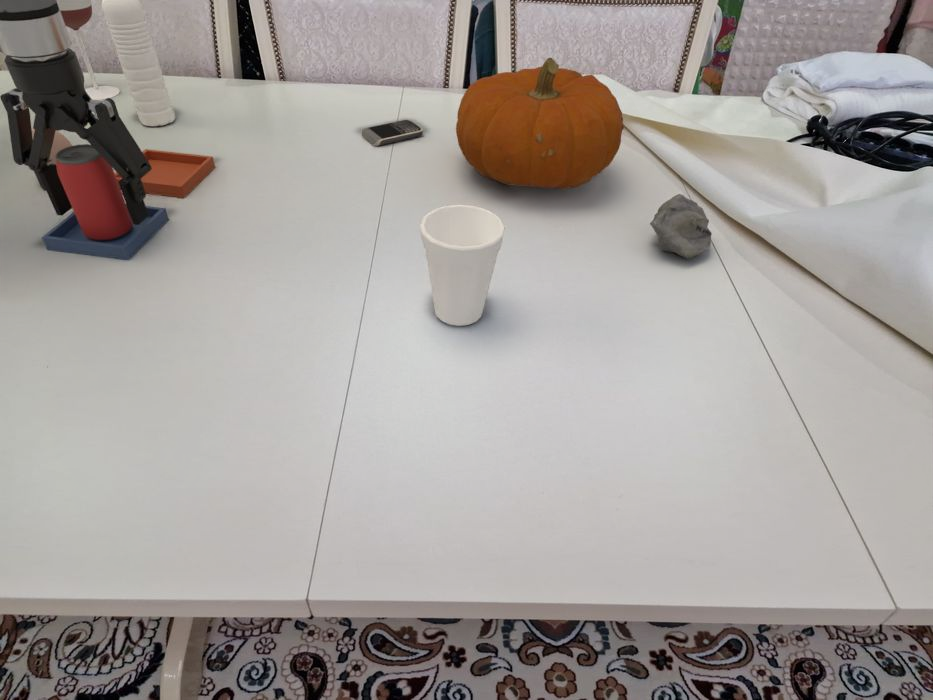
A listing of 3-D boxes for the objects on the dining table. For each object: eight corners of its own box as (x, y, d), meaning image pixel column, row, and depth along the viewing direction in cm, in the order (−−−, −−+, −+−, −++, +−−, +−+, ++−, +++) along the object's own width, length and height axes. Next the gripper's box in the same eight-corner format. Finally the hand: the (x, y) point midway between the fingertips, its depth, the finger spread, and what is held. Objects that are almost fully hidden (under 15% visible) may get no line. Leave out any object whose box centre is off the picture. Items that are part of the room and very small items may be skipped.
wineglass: (89, 83, 133) (47, -34, 118) (130, 88, 132) (94, -30, 118) (63, 98, 127) (16, -25, 112) (107, 102, 126) (65, -20, 111)
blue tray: (47, 249, 86) (41, 237, 85) (94, 210, 95) (89, 199, 93) (129, 260, 86) (124, 247, 84) (169, 219, 94) (165, 208, 92)
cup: (436, 345, 75) (438, 255, 67) (409, 298, 82) (407, 211, 73) (509, 327, 79) (520, 239, 70) (477, 283, 85) (483, 198, 76)
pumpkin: (627, 163, 116) (654, 50, 103) (586, 230, 97) (612, 103, 84) (489, 131, 124) (497, 23, 111) (426, 187, 105) (427, 65, 92)
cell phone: (425, 136, 121) (425, 129, 120) (375, 148, 116) (375, 140, 115) (409, 125, 125) (409, 118, 124) (360, 136, 120) (359, 129, 119)
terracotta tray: (112, 189, 100) (108, 178, 98) (149, 159, 108) (145, 149, 107) (184, 197, 99) (181, 186, 98) (215, 167, 107) (212, 156, 106)
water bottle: (140, 128, 117) (89, -23, 101) (140, 117, 122) (90, -30, 105) (189, 122, 120) (146, -26, 103) (186, 111, 124) (145, -33, 108)
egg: (50, 172, 103) (26, 118, 97) (92, 172, 104) (71, 118, 98) (34, 191, 98) (8, 136, 92) (78, 191, 99) (55, 136, 93)
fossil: (674, 275, 89) (690, 227, 84) (626, 247, 94) (638, 200, 89) (719, 251, 94) (736, 204, 89) (671, 226, 100) (685, 180, 94)
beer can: (84, 223, 91) (51, 145, 83) (133, 216, 93) (105, 139, 85) (83, 246, 87) (48, 166, 78) (134, 238, 89) (105, 159, 81)
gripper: (147, 51, 75) (193, 211, 90) (-29, 34, 77) (44, 193, 92) (113, 71, 70) (167, 238, 84) (-77, 52, 71) (9, 219, 86)
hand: (103, 215), depth 88 cm, fingers open, 11 cm apart
